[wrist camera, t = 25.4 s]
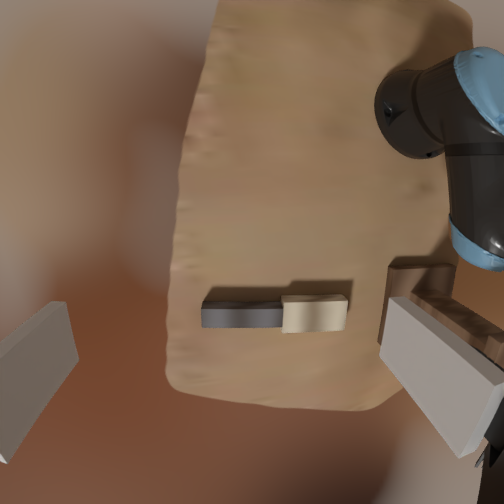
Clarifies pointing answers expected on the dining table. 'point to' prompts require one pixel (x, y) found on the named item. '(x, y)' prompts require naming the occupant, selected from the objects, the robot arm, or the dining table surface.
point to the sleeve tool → (279, 313)
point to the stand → (442, 306)
